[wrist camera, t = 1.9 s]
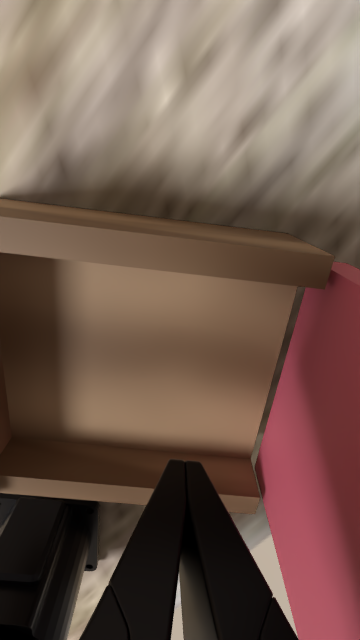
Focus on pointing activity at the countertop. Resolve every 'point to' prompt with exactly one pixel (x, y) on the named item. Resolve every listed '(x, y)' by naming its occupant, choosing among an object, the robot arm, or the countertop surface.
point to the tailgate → (318, 462)
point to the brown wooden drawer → (138, 348)
